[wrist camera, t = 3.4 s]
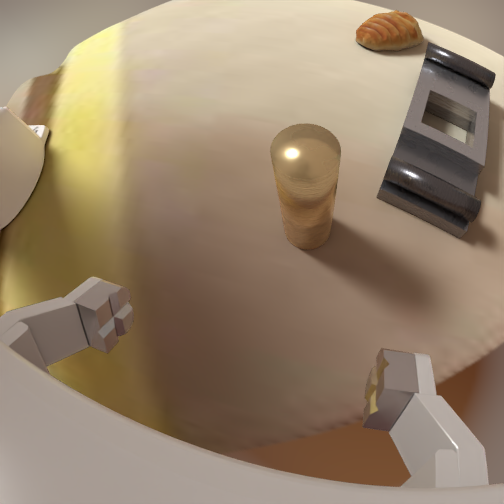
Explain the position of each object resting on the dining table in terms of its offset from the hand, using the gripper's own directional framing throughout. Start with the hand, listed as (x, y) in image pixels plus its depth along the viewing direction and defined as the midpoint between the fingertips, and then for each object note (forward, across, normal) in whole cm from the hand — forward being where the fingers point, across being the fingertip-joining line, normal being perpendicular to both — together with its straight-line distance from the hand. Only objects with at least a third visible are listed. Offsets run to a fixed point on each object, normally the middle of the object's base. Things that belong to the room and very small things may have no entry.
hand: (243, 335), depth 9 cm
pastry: (+37, -6, -17) cm, 42 cm away
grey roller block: (+25, -12, -6) cm, 28 cm away
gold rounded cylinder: (+16, 0, +3) cm, 17 cm away
